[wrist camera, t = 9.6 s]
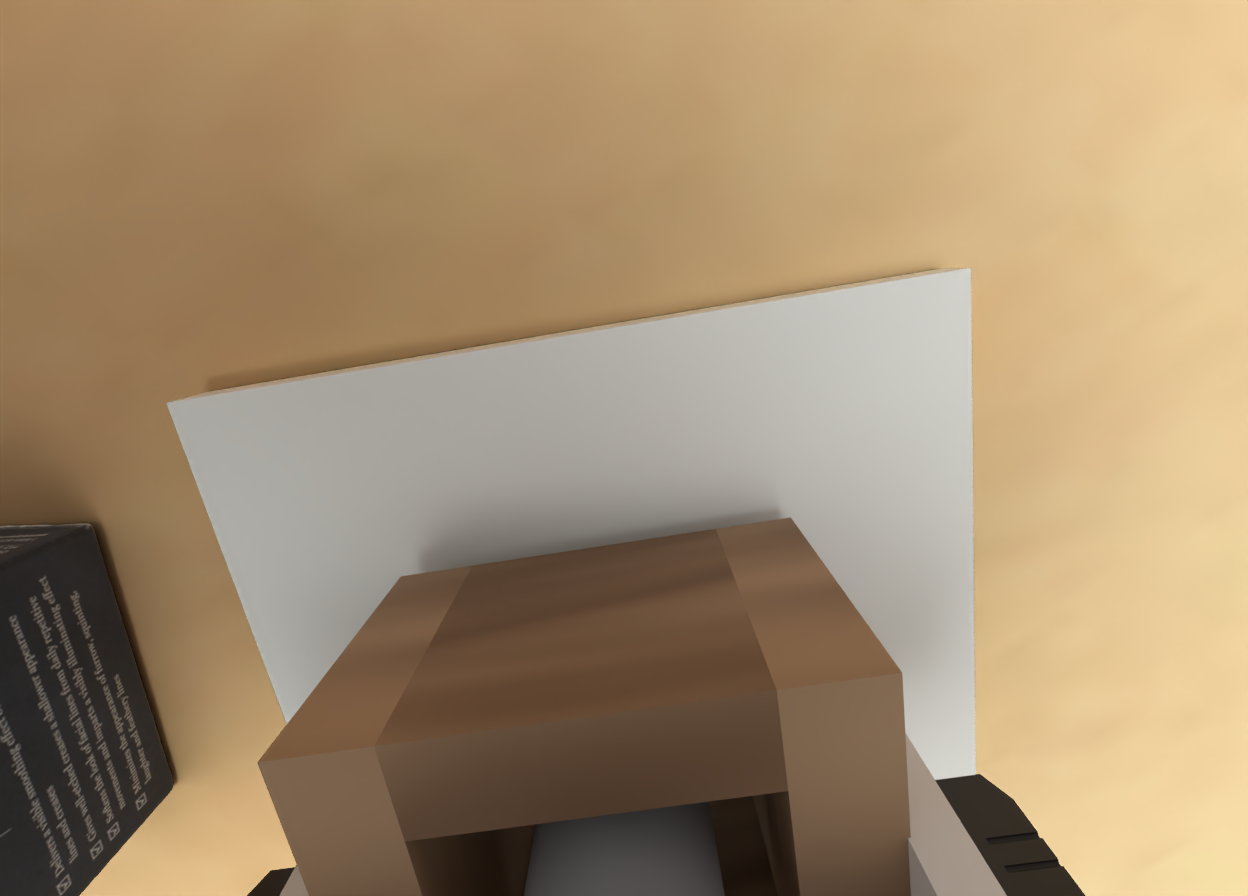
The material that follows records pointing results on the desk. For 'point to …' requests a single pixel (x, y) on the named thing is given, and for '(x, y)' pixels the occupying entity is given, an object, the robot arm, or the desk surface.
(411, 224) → the desk surface
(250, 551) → the thin white baseboard
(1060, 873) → the robot arm
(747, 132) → the desk surface
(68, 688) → the box
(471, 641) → the collar
